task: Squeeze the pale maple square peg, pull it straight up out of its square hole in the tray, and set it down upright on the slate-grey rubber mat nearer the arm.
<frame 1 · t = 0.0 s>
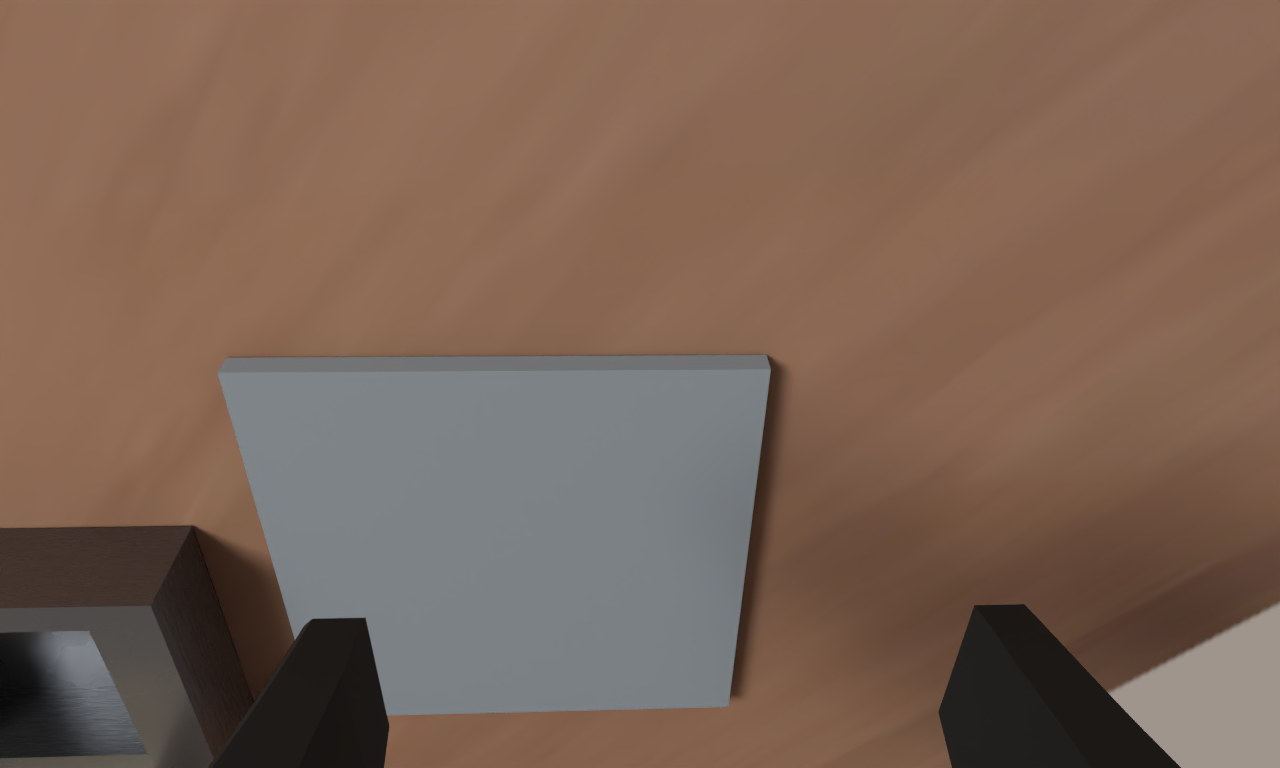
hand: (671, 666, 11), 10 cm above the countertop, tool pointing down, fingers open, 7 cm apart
mat: (515, 549, 24), on the countertop
tray: (133, 745, 27), on the countertop
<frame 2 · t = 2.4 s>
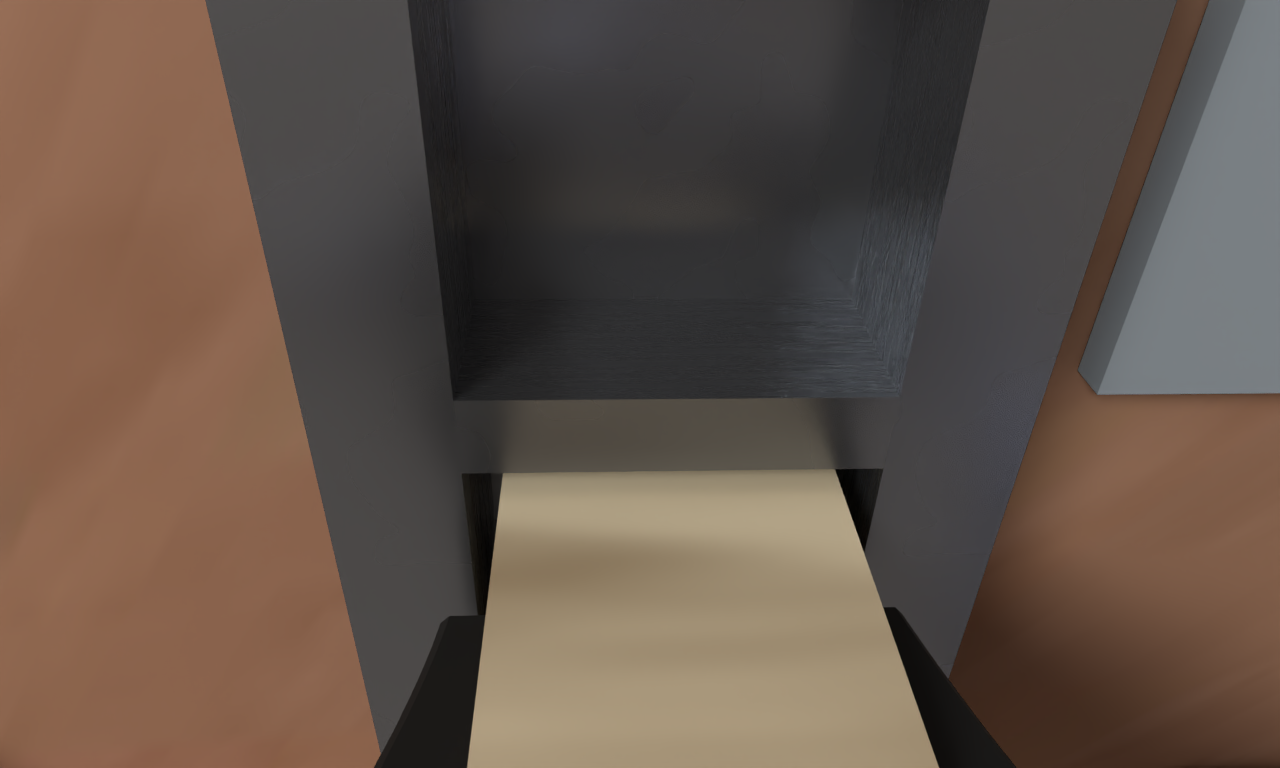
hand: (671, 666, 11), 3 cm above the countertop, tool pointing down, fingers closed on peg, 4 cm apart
peg: (656, 500, 13), resting on tray, touching gripper
tray: (654, 482, 14), on the countertop
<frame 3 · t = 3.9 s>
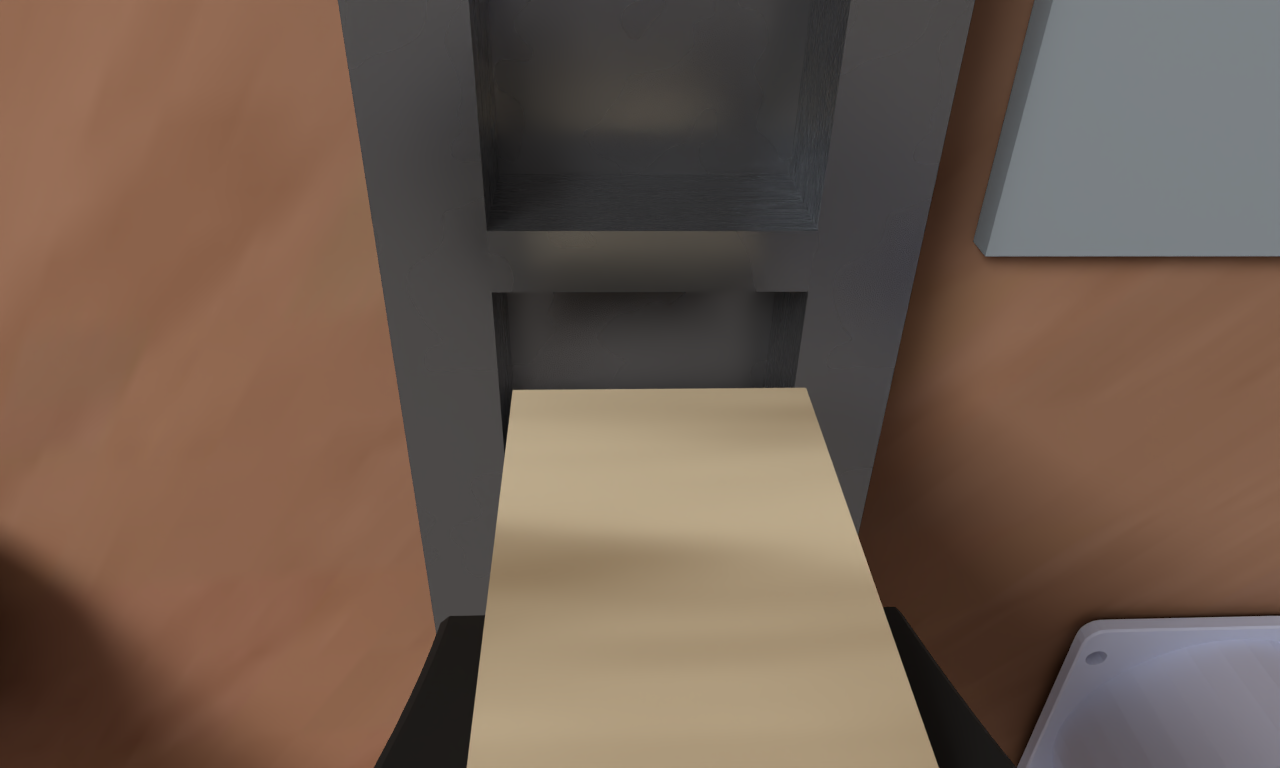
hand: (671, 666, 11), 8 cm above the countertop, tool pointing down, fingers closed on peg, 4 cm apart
peg: (655, 499, 13), point 5 cm above the countertop, touching gripper
tray: (639, 337, 17), on the countertop
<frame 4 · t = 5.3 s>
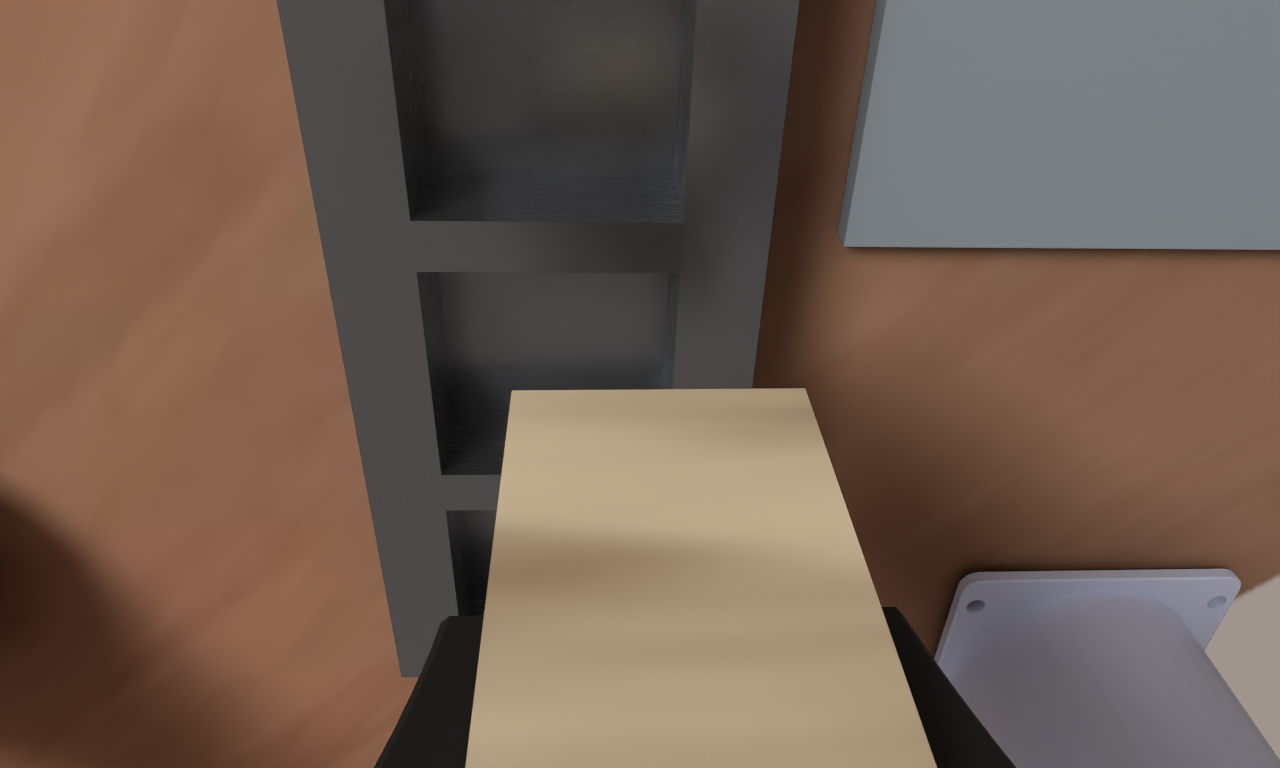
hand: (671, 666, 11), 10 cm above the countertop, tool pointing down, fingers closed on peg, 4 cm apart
peg: (654, 500, 13), point 7 cm above the countertop, touching gripper
tray: (556, 315, 20), on the countertop
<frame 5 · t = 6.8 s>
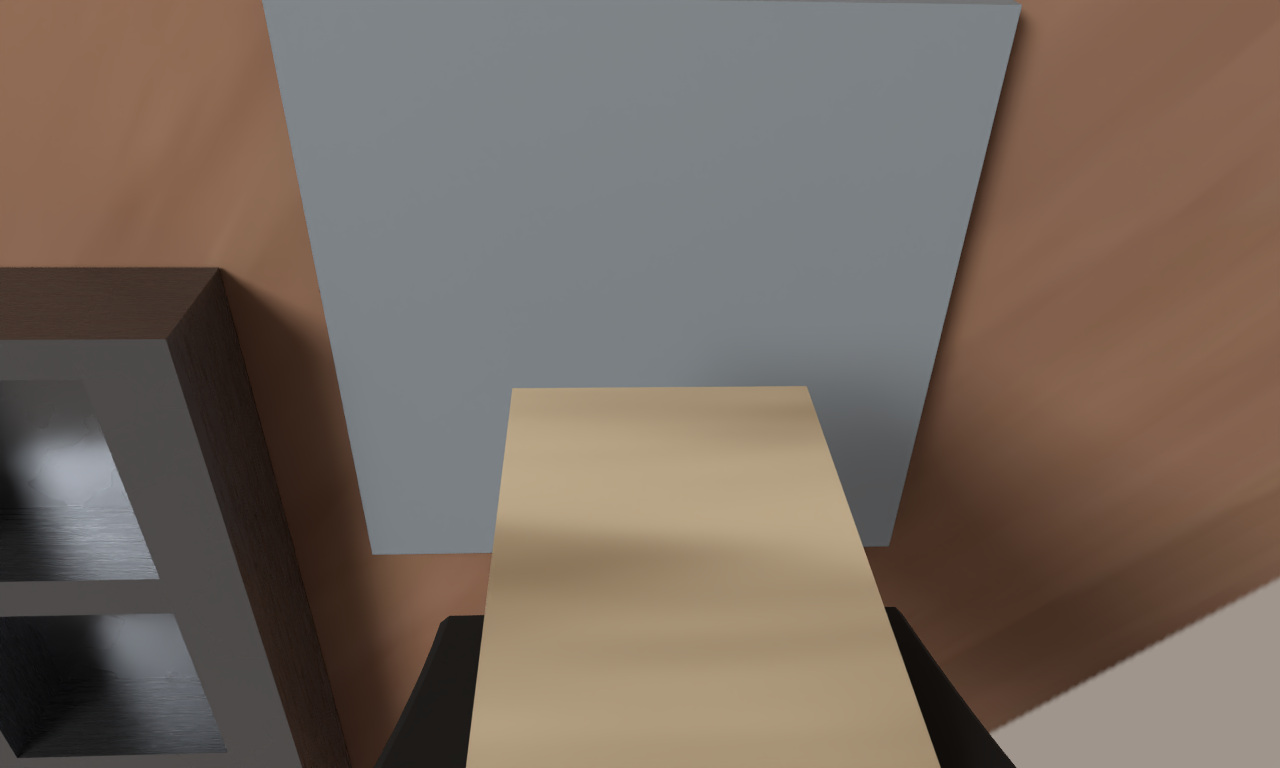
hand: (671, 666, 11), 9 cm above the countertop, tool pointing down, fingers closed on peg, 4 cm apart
peg: (655, 498, 13), point 6 cm above the countertop, touching gripper
mat: (639, 312, 18), on the countertop
tray: (139, 600, 22), on the countertop
when the fingers open (5 cm above the countertop, at t = 8.2 s): peg drops 1 cm, resting on mat.
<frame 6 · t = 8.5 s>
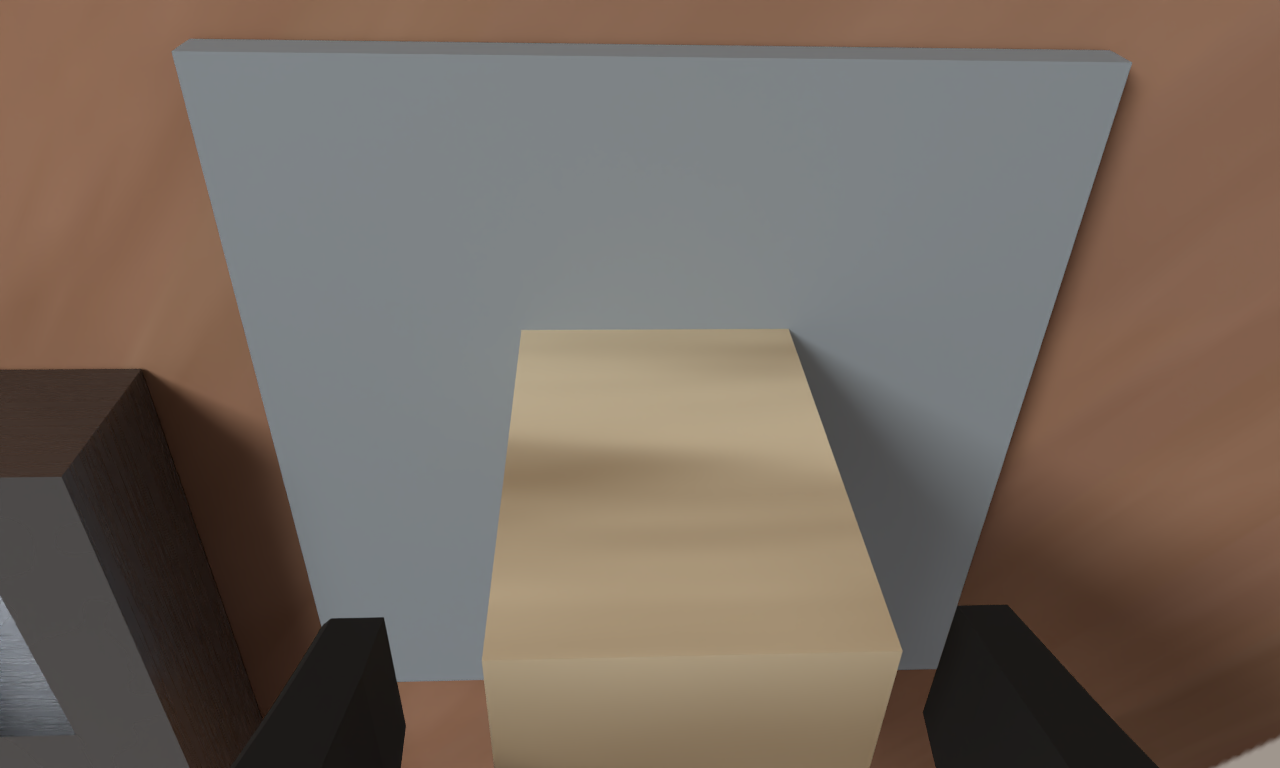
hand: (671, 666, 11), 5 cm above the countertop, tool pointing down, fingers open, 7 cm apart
peg: (651, 435, 15), point 1 cm above the countertop, touching mat
mat: (648, 416, 15), on the countertop
tray: (69, 726, 19), on the countertop
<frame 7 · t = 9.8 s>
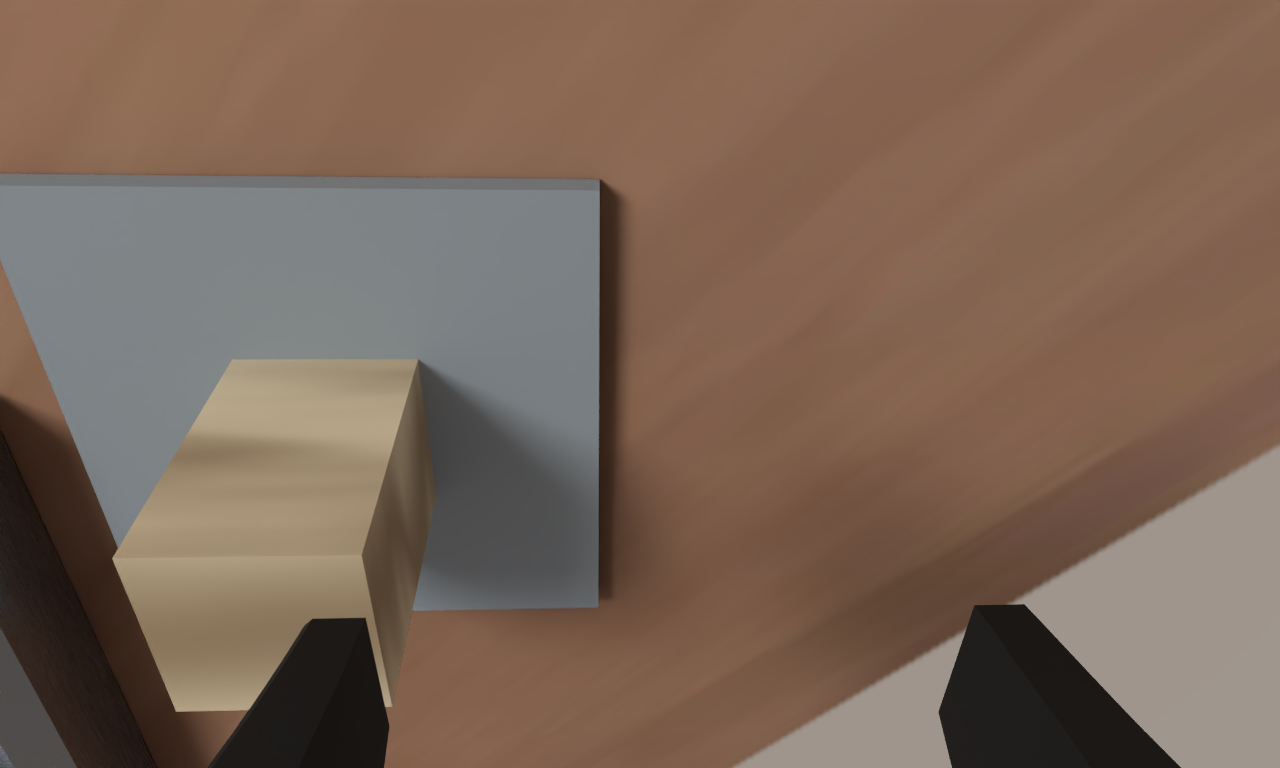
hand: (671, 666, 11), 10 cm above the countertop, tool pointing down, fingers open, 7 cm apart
peg: (340, 432, 21), point 1 cm above the countertop, touching mat
mat: (345, 418, 21), on the countertop
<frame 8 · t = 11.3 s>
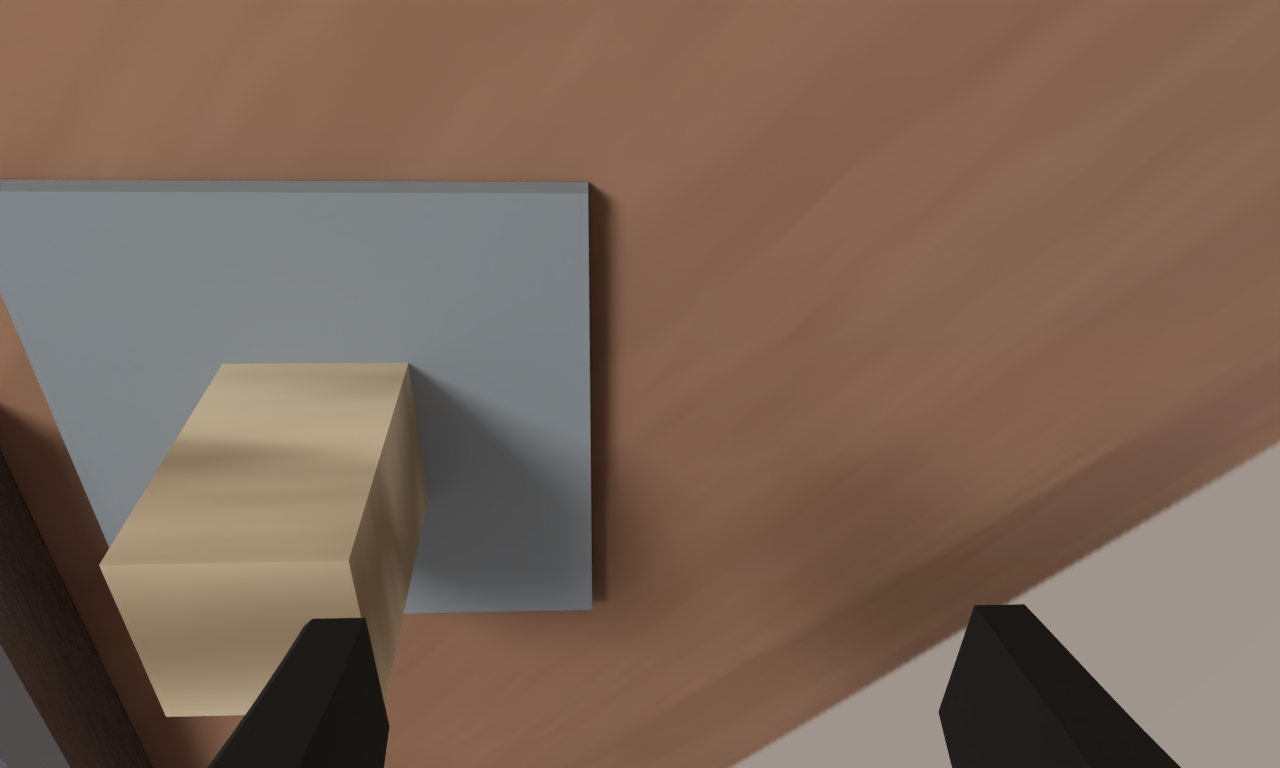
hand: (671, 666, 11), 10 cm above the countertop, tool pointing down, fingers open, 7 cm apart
peg: (331, 435, 21), point 1 cm above the countertop, touching mat
mat: (336, 421, 21), on the countertop
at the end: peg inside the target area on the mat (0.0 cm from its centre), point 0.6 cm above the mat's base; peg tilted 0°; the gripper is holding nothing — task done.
